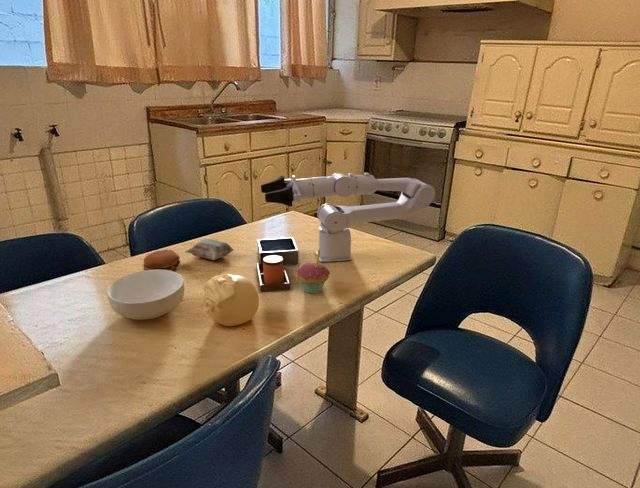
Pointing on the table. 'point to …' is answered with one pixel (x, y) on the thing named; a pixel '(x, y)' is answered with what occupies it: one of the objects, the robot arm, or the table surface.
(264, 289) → the tray
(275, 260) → the container
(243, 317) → the sculpture
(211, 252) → the packaged food
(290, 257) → the basin
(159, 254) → the burger
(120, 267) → the table surface
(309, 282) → the cupcake
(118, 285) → the cereal bowl
